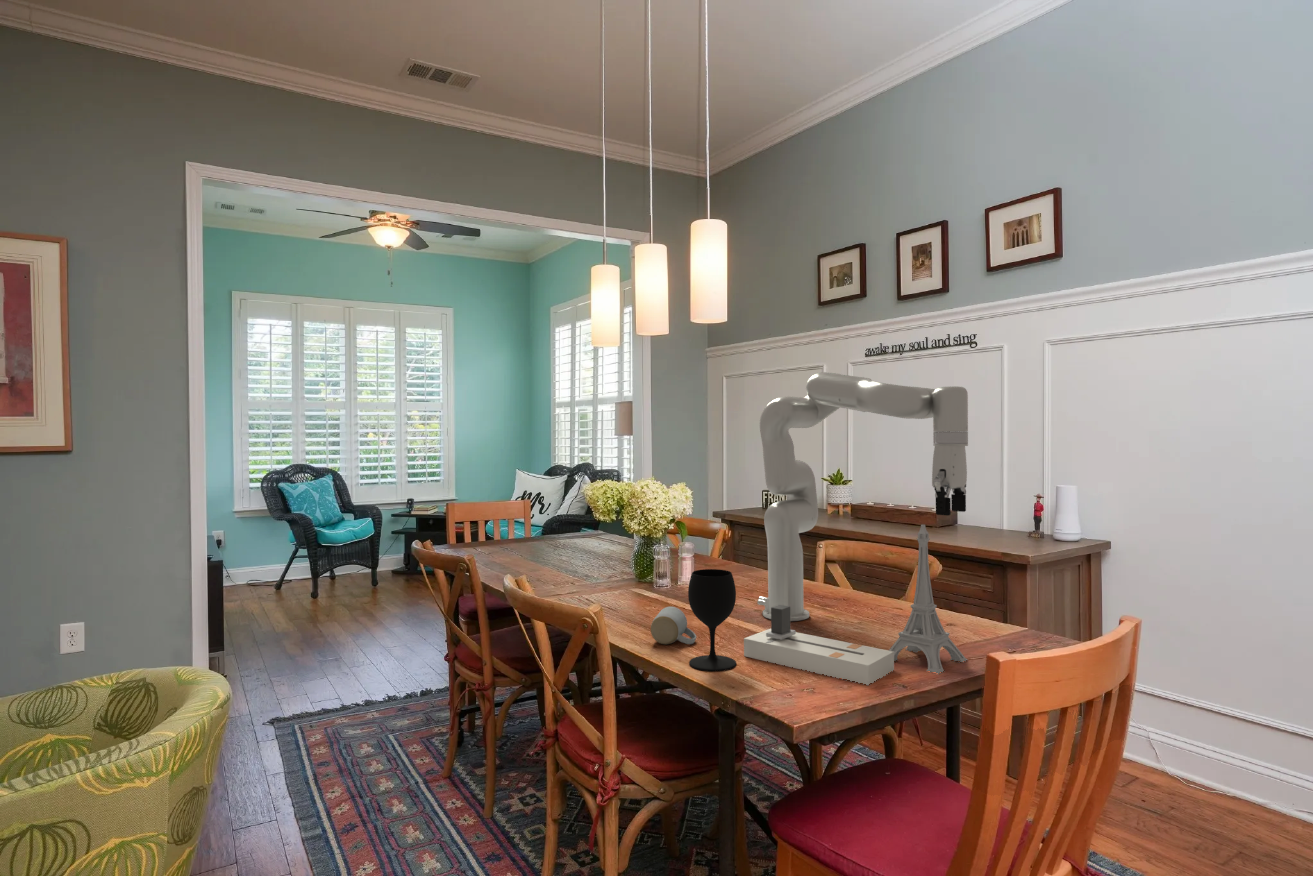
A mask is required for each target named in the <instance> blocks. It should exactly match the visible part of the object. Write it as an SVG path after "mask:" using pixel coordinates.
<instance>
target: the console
mask: <svg viewBox="0 0 1313 876" xmlns="http://www.w3.org/2000/svg"><path fill="white" fill-rule="evenodd" d="M770 631H771V628H768V629H765V630H763V631H761V632H758V633H754V634H751V635H750V636H747V637H743V657H747V658H750V659H751V658H752V659H754V660H760V661H762V662H763V661H764V662H767V661H768V662H767V663H772V664H775V663H776V664H777V665H781V666H784V665H785V666H784V667H789V668H792V667H793V669H798V670H801V669H802V670H801V671H805V670H807V671H806V672H809V671H810V673H813V672H815V673H814V674H818V675H822V674H824V675H823V676H826V675H827V677H830V676H832V678H835V677H836V679H839V678H842V679H841V680H843V679H847V680H850V681H849V682H852V681H855V682H854V683H856V682H858V683H857V684H860V683H863V684H862V685H864V684H866V686H870V685H871V684H870V683H872V684H873V683H875V682H876V680H877V679H879V678H880V679H882V678H883V676H884V677H886V676H887V675H889V674H890V673H889V672H891V671H892V672H893V670H894V671H895V662H894V652H893V651H889V649H882V648H877V647H872V646H867V645H863V644H857V643H851V642H847V641H842V640H838V639H832V638H827V637H822V636H818V635H813V634H812V635H811V634H807V633H802V632H797V631H796V634H794V635H792V636H789V637H787V638H784V639H782V640H780V639H776V638H771V637H766V633H767V632H770ZM892 672H891V673H892ZM888 673H889V674H888ZM886 674H887V675H886ZM880 679H879V680H880ZM847 680H846V681H847ZM874 681H875V682H874ZM877 681H878V680H877ZM869 684H870V685H869Z"/></svg>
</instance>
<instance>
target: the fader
mask: <svg viewBox="0 0 1313 876" xmlns="http://www.w3.org/2000/svg"><path fill="white" fill-rule="evenodd" d="M770 625H771V626H770V629H771V631H770V632H767V633H766V637H771V638H776V639H780V640H782V639H784V638H787V637H789V636H792V635H794V634H796V632H797V631H796V630H795V629H791V621H790V606H784V605H777V606H774V607H771V619H770Z"/></svg>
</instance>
